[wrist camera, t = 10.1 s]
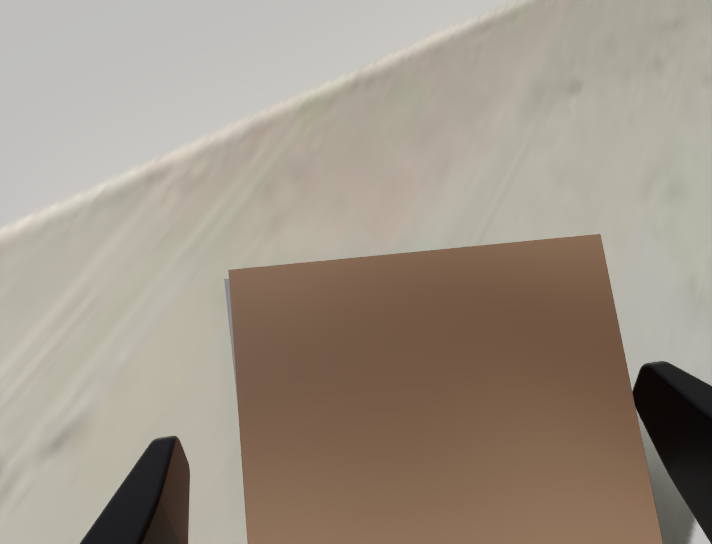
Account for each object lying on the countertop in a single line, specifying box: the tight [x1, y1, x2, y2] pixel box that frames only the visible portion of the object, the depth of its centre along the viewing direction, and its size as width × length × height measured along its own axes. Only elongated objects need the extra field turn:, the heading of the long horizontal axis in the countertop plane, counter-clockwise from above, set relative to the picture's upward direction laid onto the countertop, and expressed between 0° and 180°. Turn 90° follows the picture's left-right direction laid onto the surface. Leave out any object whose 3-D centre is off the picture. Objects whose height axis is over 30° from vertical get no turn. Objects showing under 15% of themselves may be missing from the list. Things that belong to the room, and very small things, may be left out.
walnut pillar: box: [228, 234, 663, 544], centre depth 12 cm, size 5×5×12 cm
